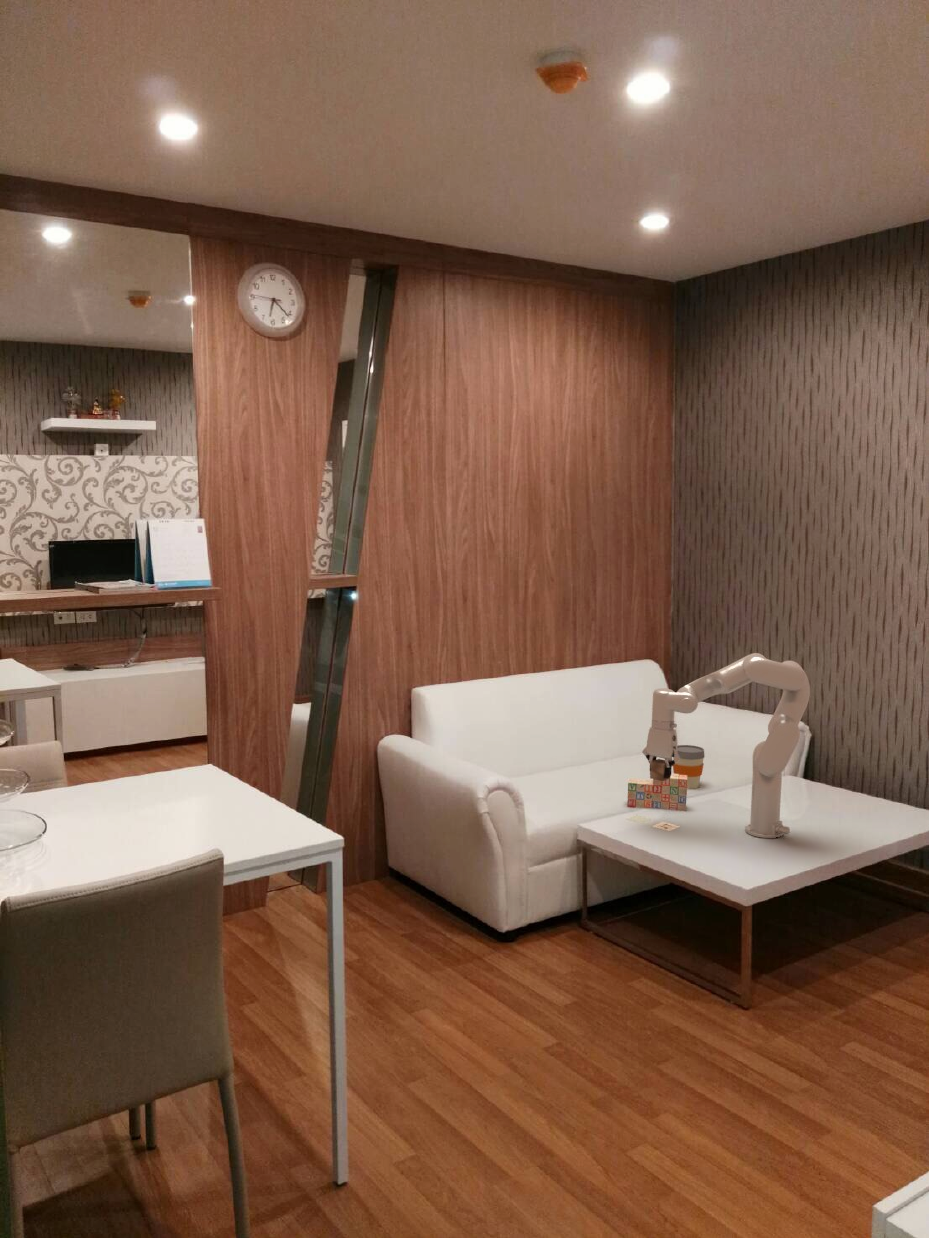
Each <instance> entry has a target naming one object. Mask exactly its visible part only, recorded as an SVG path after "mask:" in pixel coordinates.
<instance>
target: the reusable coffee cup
mask: <svg viewBox="0 0 929 1238" xmlns="http://www.w3.org/2000/svg"><path fill="white" fill-rule="evenodd" d="M677 745H678V744H677ZM677 753H678V755H679V757H680V758H681V760H680V761H678V762H676V763H675V764H674V765H673V766H672V769H673V774H679V775H687V790H689V789H690V790H693V789H698V788H699V787H700V781H701V776H702V775H703V771H704V759H705V749H704V748H703V747H700V746H697V745H691V744H686V745H685V744H680V745H678V752H677ZM674 759H675V758H674V757H672V760H674Z"/></svg>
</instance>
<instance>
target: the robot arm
mask: <svg viewBox="0 0 929 1238" xmlns="http://www.w3.org/2000/svg"><path fill="white" fill-rule="evenodd" d="M752 682H754V683H756V684H757V683H758V684H760V685H765V686H769V687H773V688H776V689H781V690H783V691H782V694H781V695H782V696H781V698H780V700H779V703H778V705H777V706H776V709H775V711H774V713H773V714H772V716H771V718H770V720H769V722H768V725H767V731H768V735H767V737H766V739H765V740H763V741H761V742H759V743H758V744H757V745H756V746H755V747H754V748H753V753H752V778H751V785H752V786H751V801H750V802H751V803H750V804H751V805H750V818H749V819H750V822H749V824H747V825H746V826H745V829H744V830H745V832H746V834H749V835H750V836H752V837H753V836H754V837H757V838H762V839H777V838H776V837H778V838H780V836H781V837H783V836H784V835H783V834H785V835H790V833H791V831H790V827H789V826H785V825H783V821H782V820H780V818H781V817H780V816H781V803H782V800H781V798H782V797H781V796H782V785H783V784H782V780H783V779H782V778H783V775H782V774H783V772H784V771H785V769H786V767H787V765H788V764H789V761H790V760H791V757H792V756H793V754H794V752H795V750H796V748H797V746H798V743H799V740H800V737H801V736H800V735H801V730H800V727H799V724H800V722H801V720H802V718H803V716H804V713H805V711H806V709H807V706H808V704H809V700H810V695H811V687H810V681H809V678H808V676H807V674H806V672H805V670H804V669H803V668H802V666H801V665H800V664H799V663H798V662H796V661H794V660H784V661H783V662H780V661H775V660H771V659H768V658H767V657H765V655H763V654H761V653H758V652H754V653H750V654H748V655H746V656H744V657H742V658H740V659H737V660H736V661H734V662H732V663H730V664H729V665H727V666H723V668H720V669H719V670H718V669H717V671H714V672H711V673H709V674H706V675H704V676H702V677H699V678H697V679H695V680H693V681H691V682H690V683H688V684H686V685H684V686H682V687H680V688H678V690H677V691H676V692H675V691H674V690H673V689H669V688H656V689H655V690H653V692H652V706H651V707H652V708H651V726H650V727H649V730H648V733H647V734H648V735H647V738H646V739H647V741H646V746H645V747H644V749H643V750H641V751H642V754H643V755H644V757H645V758H646V760H647V761H648V764H649V770H650V769H651V761H653V760H657V759H658V758H659V759H661V758H662V759H663V760H665V763H666V767H665V774H664V778H665V779H667V778H670V777H671V774H672V769H673V765H674V764H675V763H676V762H678V761H680V760H681V758H680V757H679V755H678V753H677V752H678V733H677V730H676V728H677V726H678V724H677V723H675V712H676V713H680V714H685V715H686V714H692V713H694V712H695V711H696V710H697V708H698V706H699V703H700V702H702V701H705V700H706V699H708V698H711V697H713V696H716V695H726V694H730V693H732V692H734V691H736V690H738V689H741V688H742V687H744V686H747V685H748V684H750V683H752ZM673 757H674V758H675V759H674V760H673ZM782 835H783V836H782Z"/></svg>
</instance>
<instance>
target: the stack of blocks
mask: <svg viewBox="0 0 929 1238" xmlns="http://www.w3.org/2000/svg"><path fill="white" fill-rule="evenodd" d="M687 796H688V789H687V775H679V774H674V773H671V777H670V779H667V780H665V781H660V780H655V779H652V780H651V779H639V778H628V782H627V802H626V803H627V804H626V805H627V806H626V807H629V808H647V809H661V810H671V811H682V812H683V811H684V812H686V811H687Z"/></svg>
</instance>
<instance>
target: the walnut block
mask: <svg viewBox="0 0 929 1238" xmlns="http://www.w3.org/2000/svg"><path fill="white" fill-rule="evenodd" d="M665 767H666V763H665V759H663V758H662V759H661V758H656V760H653V761H651V769H650V768H649V778H650V780H651V779H652V780H653V779H655V780H660V781H665V780H667V779H670V778H667V779H665V778H664V774H665Z"/></svg>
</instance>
